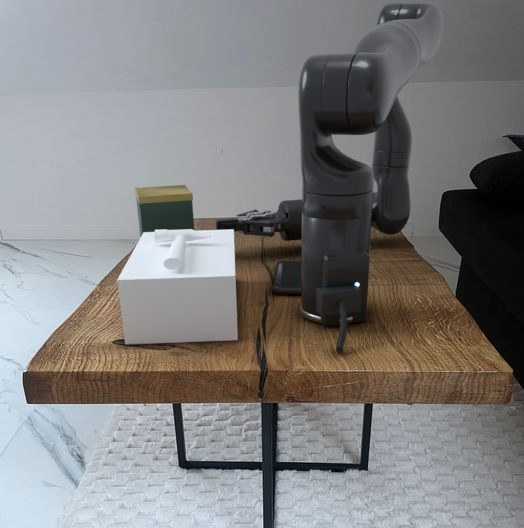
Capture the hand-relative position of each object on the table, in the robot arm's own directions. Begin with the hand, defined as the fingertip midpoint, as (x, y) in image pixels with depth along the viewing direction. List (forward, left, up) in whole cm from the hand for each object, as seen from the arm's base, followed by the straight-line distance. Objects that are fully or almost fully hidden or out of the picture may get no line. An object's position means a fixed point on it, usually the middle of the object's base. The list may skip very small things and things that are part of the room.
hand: (216, 226), depth 111 cm
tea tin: (0, +9, -6) cm, 11 cm away
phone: (-18, -10, -6) cm, 21 cm away
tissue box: (-25, +10, -6) cm, 28 cm away
